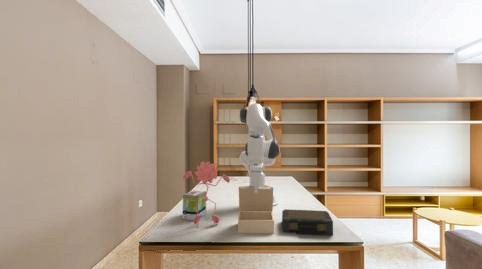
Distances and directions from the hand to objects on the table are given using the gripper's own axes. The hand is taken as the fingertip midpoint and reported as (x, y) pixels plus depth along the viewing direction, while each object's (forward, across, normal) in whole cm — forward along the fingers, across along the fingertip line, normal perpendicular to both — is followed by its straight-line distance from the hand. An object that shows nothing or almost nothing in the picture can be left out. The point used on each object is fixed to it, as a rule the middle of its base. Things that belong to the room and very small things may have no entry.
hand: (255, 192), depth 146 cm
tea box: (+20, -25, -37) cm, 49 cm away
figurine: (+20, -11, -28) cm, 36 cm away
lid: (+6, -6, 0) cm, 9 cm away
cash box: (+20, -6, +27) cm, 34 cm away
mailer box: (+20, -3, 0) cm, 20 cm away
